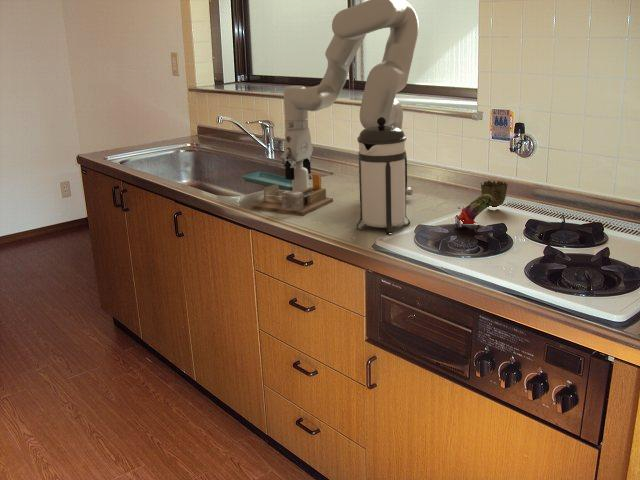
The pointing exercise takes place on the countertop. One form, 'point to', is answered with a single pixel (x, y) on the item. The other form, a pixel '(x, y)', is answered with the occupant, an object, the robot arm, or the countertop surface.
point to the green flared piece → (495, 191)
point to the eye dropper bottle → (300, 177)
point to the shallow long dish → (269, 180)
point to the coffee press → (382, 176)
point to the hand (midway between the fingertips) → (298, 176)
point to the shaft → (316, 186)
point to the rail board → (292, 200)
